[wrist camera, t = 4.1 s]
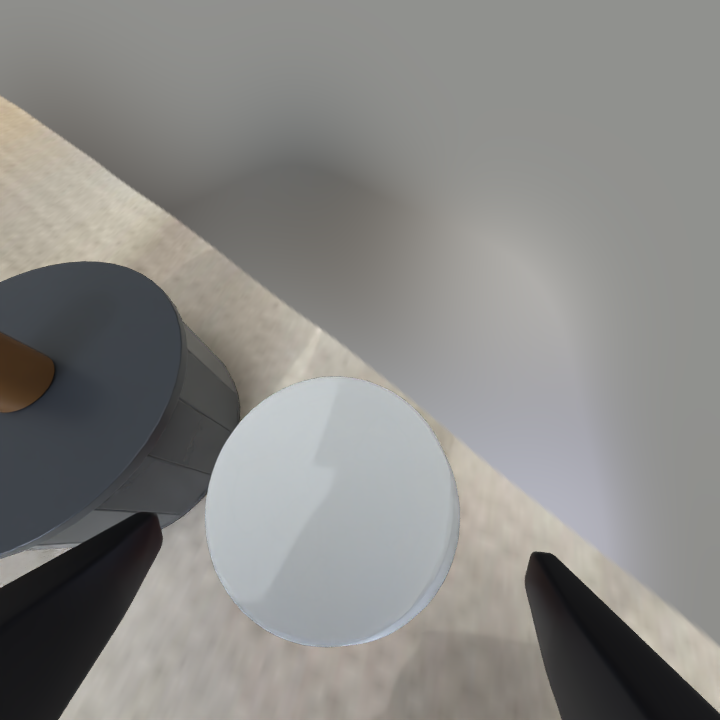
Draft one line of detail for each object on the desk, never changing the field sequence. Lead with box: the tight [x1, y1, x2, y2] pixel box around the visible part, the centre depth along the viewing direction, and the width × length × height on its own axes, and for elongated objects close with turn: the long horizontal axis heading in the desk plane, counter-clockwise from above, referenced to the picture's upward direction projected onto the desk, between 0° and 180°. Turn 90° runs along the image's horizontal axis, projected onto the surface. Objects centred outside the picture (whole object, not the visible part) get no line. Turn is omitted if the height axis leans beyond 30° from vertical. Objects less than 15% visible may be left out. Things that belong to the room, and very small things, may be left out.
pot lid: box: [0, 261, 188, 559], centre depth 12 cm, size 12×12×4 cm
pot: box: [25, 322, 240, 551], centre depth 16 cm, size 11×11×6 cm
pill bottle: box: [205, 376, 460, 647], centre depth 11 cm, size 6×6×11 cm
